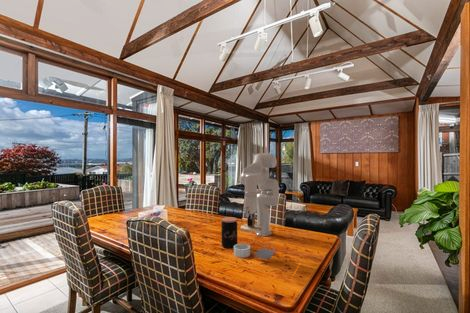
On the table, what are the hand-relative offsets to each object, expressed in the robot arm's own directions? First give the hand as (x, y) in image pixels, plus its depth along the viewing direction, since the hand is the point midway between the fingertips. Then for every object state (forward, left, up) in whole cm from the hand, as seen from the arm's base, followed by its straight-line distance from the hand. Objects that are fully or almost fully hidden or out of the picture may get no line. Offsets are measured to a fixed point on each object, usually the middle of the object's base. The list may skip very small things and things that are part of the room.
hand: (251, 224), depth 139 cm
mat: (-4, +7, -18) cm, 20 cm away
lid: (0, 0, -2) cm, 2 cm away
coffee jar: (-6, -19, -19) cm, 27 cm away
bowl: (+3, -5, -18) cm, 19 cm away
